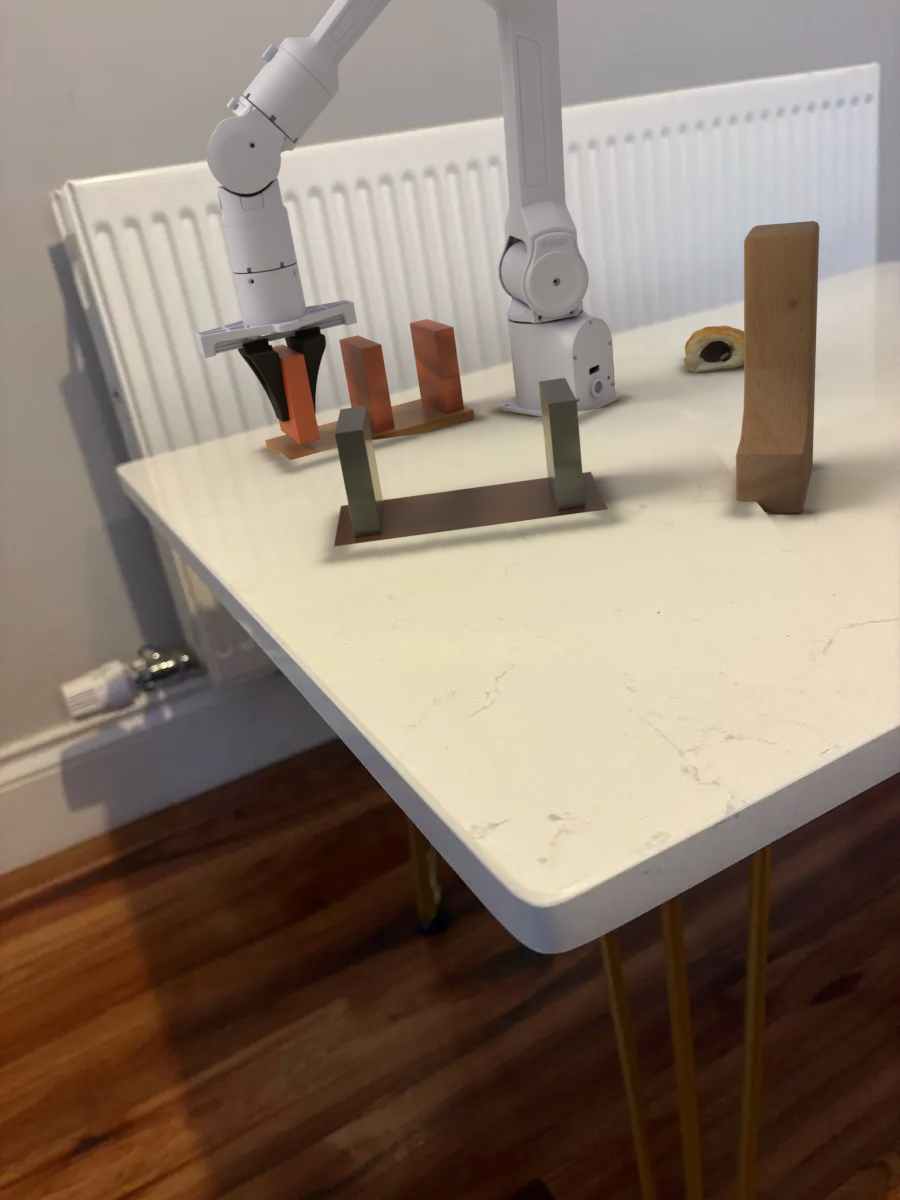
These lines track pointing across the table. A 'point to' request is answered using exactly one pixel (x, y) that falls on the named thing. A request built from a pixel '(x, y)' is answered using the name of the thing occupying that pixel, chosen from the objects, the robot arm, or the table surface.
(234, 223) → the robot arm
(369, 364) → the book rack
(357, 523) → the grey book stand
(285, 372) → the terracotta book
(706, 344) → the pastry
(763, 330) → the wooden block
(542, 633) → the table surface
